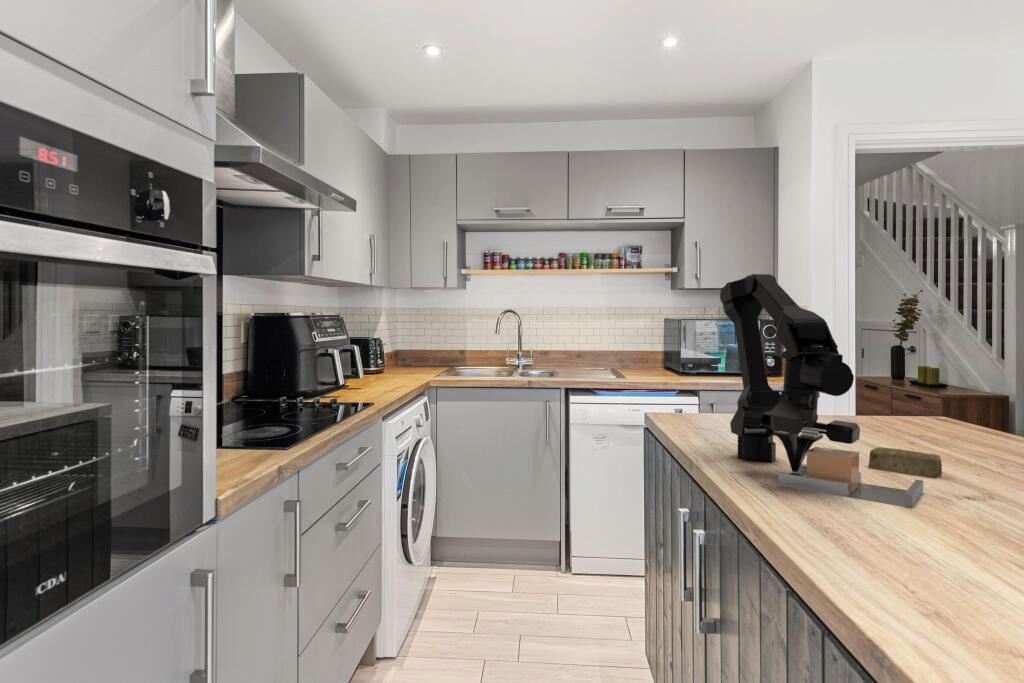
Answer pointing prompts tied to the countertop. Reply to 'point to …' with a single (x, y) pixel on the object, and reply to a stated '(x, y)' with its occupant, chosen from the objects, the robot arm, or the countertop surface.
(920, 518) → the countertop surface
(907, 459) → the stone block
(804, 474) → the chute
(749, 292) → the robot arm
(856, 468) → the block
